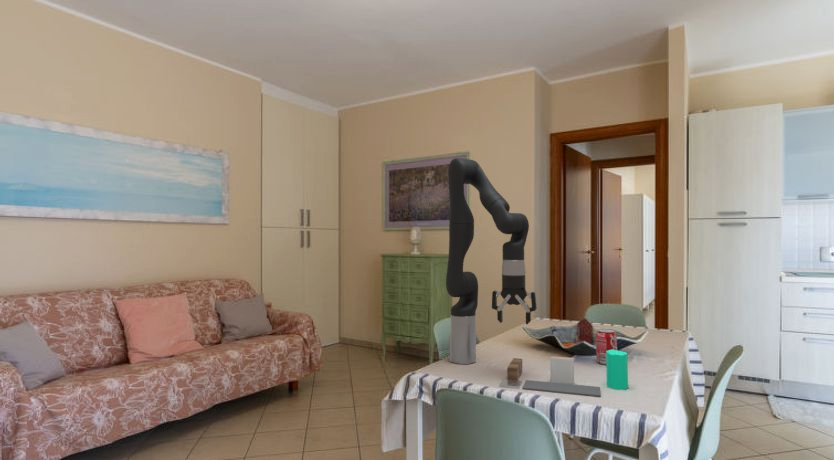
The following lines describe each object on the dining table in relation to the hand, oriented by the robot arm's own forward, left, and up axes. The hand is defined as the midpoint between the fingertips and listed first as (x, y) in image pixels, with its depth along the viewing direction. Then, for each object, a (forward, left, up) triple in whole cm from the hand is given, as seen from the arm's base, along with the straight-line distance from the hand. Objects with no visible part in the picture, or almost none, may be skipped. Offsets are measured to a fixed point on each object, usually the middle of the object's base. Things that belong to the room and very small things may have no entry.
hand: (514, 323), depth 153 cm
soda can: (+29, +29, -18) cm, 45 cm away
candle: (+31, +1, -18) cm, 36 cm away
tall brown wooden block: (0, -2, -18) cm, 18 cm away
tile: (+15, -1, -18) cm, 23 cm away
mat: (+15, -7, -18) cm, 24 cm away
